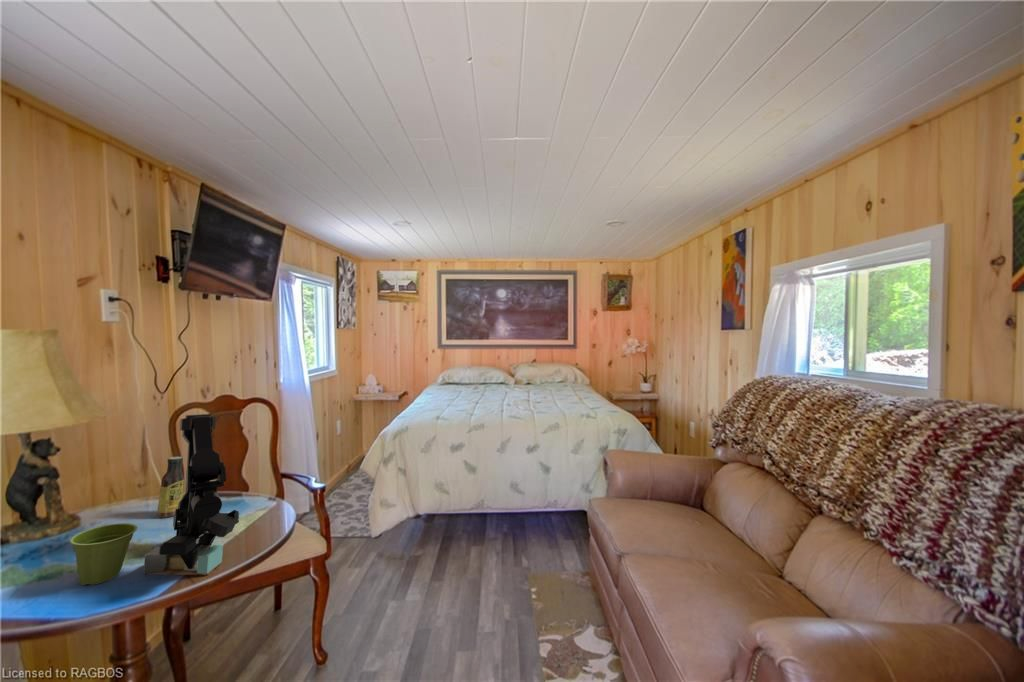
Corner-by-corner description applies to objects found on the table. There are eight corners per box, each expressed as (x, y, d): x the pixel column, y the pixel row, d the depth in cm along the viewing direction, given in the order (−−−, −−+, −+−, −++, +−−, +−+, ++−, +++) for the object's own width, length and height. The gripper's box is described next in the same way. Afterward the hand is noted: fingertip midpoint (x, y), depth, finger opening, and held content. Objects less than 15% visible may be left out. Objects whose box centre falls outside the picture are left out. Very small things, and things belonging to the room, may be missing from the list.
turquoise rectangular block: (197, 573, 99) (198, 555, 100) (212, 561, 105) (213, 545, 105) (206, 573, 100) (208, 555, 100) (221, 561, 105) (223, 545, 105)
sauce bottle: (169, 519, 129) (174, 461, 130) (151, 518, 130) (157, 460, 130) (186, 511, 136) (191, 456, 137) (169, 510, 136) (174, 455, 137)
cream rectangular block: (163, 570, 100) (164, 551, 100) (175, 562, 104) (176, 544, 104) (206, 570, 100) (208, 552, 101) (216, 562, 104) (218, 545, 104)
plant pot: (89, 595, 90) (94, 547, 90) (51, 587, 92) (56, 540, 92) (145, 568, 101) (149, 526, 102) (110, 561, 103) (114, 520, 104)
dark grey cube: (143, 572, 99) (145, 554, 99) (161, 560, 104) (162, 544, 104) (163, 572, 99) (165, 555, 99) (180, 561, 104) (181, 544, 105)
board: (144, 574, 99) (144, 571, 99) (160, 563, 104) (160, 561, 104) (207, 575, 100) (207, 572, 100) (220, 564, 105) (221, 562, 105)
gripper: (207, 522, 94) (201, 586, 93) (253, 494, 113) (249, 547, 112) (160, 520, 93) (154, 585, 93) (214, 493, 112) (210, 546, 111)
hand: (196, 564), depth 102 cm, fingers closed on cream rectangular block, 4 cm apart
